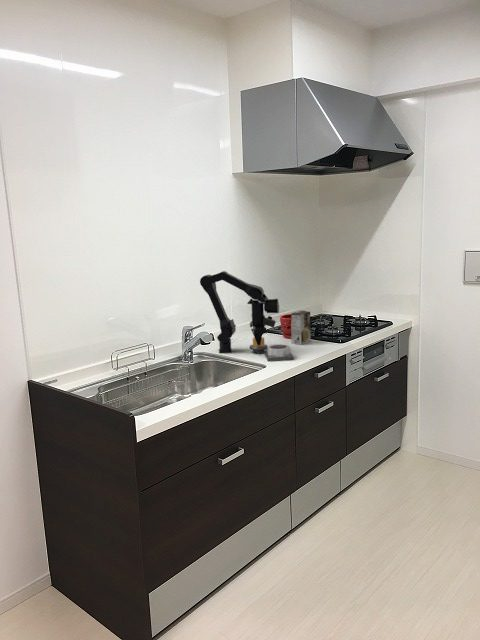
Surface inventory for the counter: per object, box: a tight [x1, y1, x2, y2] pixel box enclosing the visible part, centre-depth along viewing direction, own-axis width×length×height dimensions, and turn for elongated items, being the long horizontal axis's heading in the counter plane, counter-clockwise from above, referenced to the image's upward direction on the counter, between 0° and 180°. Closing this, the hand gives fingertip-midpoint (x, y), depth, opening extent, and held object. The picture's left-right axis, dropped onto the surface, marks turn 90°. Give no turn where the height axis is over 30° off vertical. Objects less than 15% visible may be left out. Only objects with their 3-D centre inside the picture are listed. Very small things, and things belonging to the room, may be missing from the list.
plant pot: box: [279, 313, 292, 340], centre depth 294 cm, size 13×13×12 cm
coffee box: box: [290, 310, 312, 346], centre depth 280 cm, size 9×6×16 cm
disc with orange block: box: [249, 336, 269, 355], centre depth 264 cm, size 9×9×7 cm
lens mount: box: [263, 343, 295, 362], centre depth 253 cm, size 12×12×5 cm
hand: (258, 344), depth 264 cm, fingers closed on disc with orange block, 2 cm apart
